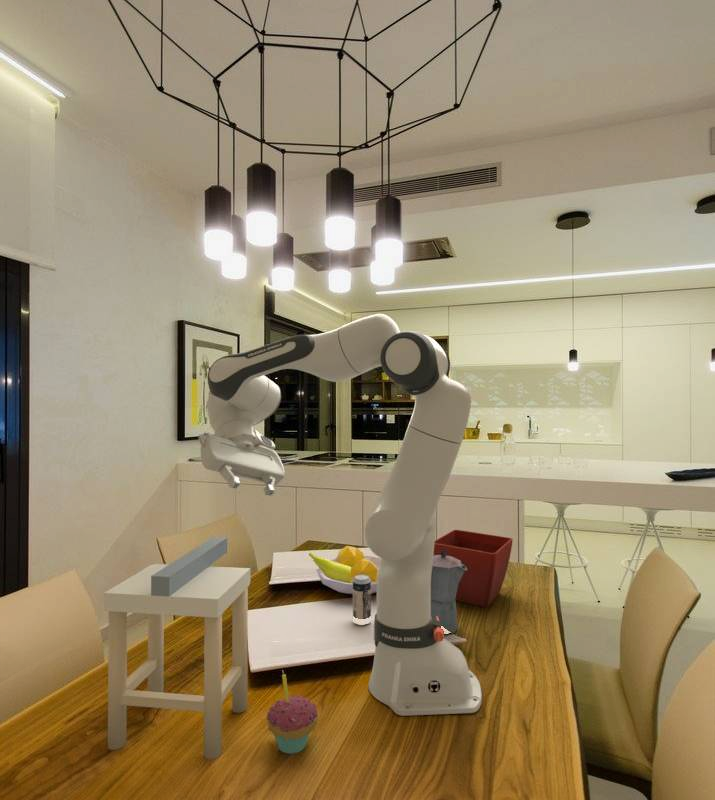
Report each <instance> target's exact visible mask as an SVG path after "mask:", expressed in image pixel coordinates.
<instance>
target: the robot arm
mask: <svg viewBox="0 0 715 800" xmlns="http://www.w3.org/2000/svg"><path fill="white" fill-rule="evenodd" d="M380 367H382V370H383V372H384V374H385V375H386V376H387V378H389V380H391V382H393V383H394V384H395V385H396V386H398V387H399V388H401V390H403V391H404V392H406V393H408V394H409V395H410V396H414V406H413V407H414V408H413V411H412V415H411V417H410V420H409V423H408V426H407V428H406V431H405V434H404V437H403V439H402V443H401V445H400V448H399V452H398V454H397V457H396V459H395V462H394V464H393V467H392V469H391V471H390V472H389V475H388V476H387V479H386V480H385V483H384V484H383V487H382V489H381V491H380V493H379V496H378V497H377V500H376V502H375V504H374V507H373V510H372V511H371V513H370V515H369V517H368V519H367V521H366V524H365V528H364V537H365V541H366V545H367V546H368V548H369V550H370V551H371V552H372V553H373V554H374V556H376V557H378V558H381V562H380V567H379V571H378V574H377V592H376V613H375V614H374V615H375V616H374V620H373V641H374V646H375V649H374V655H373V657H374V658H373V663H372V664H373V665H372V669H371V673H370V677H369V681H368V683H367V684H368V689H369V693H370V694H371V695H372V697H374V698H375V699H376V700H378V701H379V702H381V703H383V704H385V705H387V706H388V707H389V708H390V709H391V710H392V711H393V712H394V713H395V714H396V715H397V716H398V715H399V716H403V717H405V716H406V717H407V716H424V715H426V716H427V715H429V716H430V715H431V716H432V715H450V714H451V715H452V714H474V713H476V712H477V711H479V709H480V707H481V706H482V701H483V695H482V687H481V684H480V681H479V680H478V677H477V676H476V675H475V674H474V673H473V672H472V671H471V670H470V669H469V666H468V662H467V660H466V658H465V657H466V656H465V655H464V654H463V651H462V650H460V648H458V647H457V646H456V645H454V644H452V643H451V641H449V640H448V639H447V638H445V635H444V631H443V629H441V623H440V622H439V618H438V616H436V618H437V619H436V618H434V617H433V616H432V615H431V573H432V564H433V556H434V543H435V540H436V527H437V506H438V503H439V501H440V498H441V496H442V493H443V491H444V489H445V488H446V485H447V483H448V481H449V478H450V476H451V473H452V470H453V467H454V465H455V462H456V459H457V457H458V455H459V454H458V453H459V451H460V448H461V446H462V443H463V439H464V438H465V437H464V436H465V433H466V430H467V427H468V423H469V422H468V421H469V418H470V412H471V406H472V395H471V393H470V392H469V389H467V388H466V387H465V386H464V385H463V384H461V383H460V382H459V381H456V380H453V379H451V378H449V374H450V370H451V360H450V357H449V354H448V352H447V351H446V349H445V348H444V347H443V346H442V345H441V344H439V343H438V342H437V341H436V340H435V339H434V338H432V337H430V336H428V335H425V334H423V333H421V332H419V331H415V330H404V331H400V329H399V327H398V325H397V323H396V322H395V321H394V320H393V319H392V318H391V317H389V316H388V315H387V314H383V313H376V314H371V315H368V316H366V317H365V316H364V317H362V318H358V319H356V320H354V321H351V322H349V323H347V324H344V325H342V326H340V327H337V328H336V329H333V330H331V331H330V330H329V331H326V332H322V333H318V334H297V335H292V336H290V337H286V338H283V339H280V340H277V341H274V342H271V343H269V344H264V345H263V346H262V345H261V346H259V347H256V348H253V349H251V350H248V351H245V352H240V353H239V352H238V353H231V354H227V355H223V356H221V357H220V358H218V359H216V360H215V361H214V362H213V363H212V364H211V365H210V368H209V370H208V373H207V385H208V388H209V392H210V394H209V396H208V398H207V405H206V407H207V415H208V419H209V423H210V427H211V428H212V430H213V431H214V434H211V433H209V432H203V433H200V434H199V436H198V442H199V444H200V445H201V446H200V458H201V459H200V460H201V464H202V466H203V467H204V469H206V470H208V471H212V472H217V473H219V475H221V477H222V478H223V479H224V480H225V481H226V482H227V485H228V487H229V488H231V489H236V490H237V489H238V487H240V484H241V482H240V478H243V479H247V480H252V481H255V482H260V483H263V484H264V485H265V487H264V488H263V492H264V495H265V496H269V497H272V496H274V495H275V492H276V489H275V486H277V485H278V484H279V483H280V482H281V481H282V480H283V479H284V477H285V475H286V471H285V467H284V465H283V462H282V459H281V457H280V456H279V454H278V452H276V450H275V449H276V444H275V443H274V441H272V440H271V439H270V438H268V437H266V436H265V435H263V434H261V432H259V431H258V430H257V429H255V428H254V427H253V426H256V425H258V424H260V423H262V422H263V421H266V419H268V418H270V417H271V416H272V415H273V414H274V413H276V411H277V410H278V409H279V406H280V404H281V400H282V391H281V388H280V386H279V385H278V384H276V383H275V382H274V381H273V380H271V379H270V378H268V377H267V376H266V375H269V374H272V373H274V372H278V371H281V370H287V369H288V370H297V371H301V372H305V373H308V374H311V375H313V376H316V377H317V378H320V379H322V380H325V381H327V382H328V381H329V382H333V383H340V382H343V381H347V380H351V379H353V378H356V377H358V376H361V375H362V374H364V373H367V372H369V371H371V370H373V369H376V368H380Z"/></svg>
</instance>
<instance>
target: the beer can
mask: <svg viewBox="0 0 715 800" xmlns="http://www.w3.org/2000/svg"><path fill="white" fill-rule="evenodd" d="M353 616H354V617H355V618H358V619H366V618H369V617H370V616H371V617H372V594H371V580H370V578H369V576H368V575H364V574H362V575H356V576H355V577H354V579H353V594H352V617H353Z"/></svg>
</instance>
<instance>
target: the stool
mask: <svg viewBox="0 0 715 800" xmlns="http://www.w3.org/2000/svg"><path fill="white" fill-rule="evenodd" d="M168 565H169V563H168V564H167V563H166V564H165V563H164V564H163V563H152V564H150V565H149V566H147V567H145V568H143V569H142V570H141V571H139V572H136V573H135V574H133V575H131V576H130V577H129V578H127V579H125V580H124V581H122V582H120V583H118V584H117V585H115V586H113V587H112V588H110V589H108V590H107V591H105V592H104V593H103V596H104V597H103V611H104V612H108V643H107V644H108V646H107V647H108V653H107V654H108V656H107V657H108V659H107V661H108V662H107V664H108V666H107V667H108V668H107V669H108V670H107V671H108V672H107V676H108V677H107V679H108V681H107V682H108V683H107V685H108V686H107V687H108V689H107V703H108V704H107V748H108V749H109V750H110V751H115V750H119V749H121V748H123V747H124V746H125V745H126V743H127V716H128V715H127V708H128V707H127V706H132V707H133V706H134V707H143V708H154V709H156V708H157V709H167V710H178V711H190V712H202V713H203V757H204V759H206V760H210V761H211V760H215V759H218V758H219V757H221V756H222V754H223V753H222V749H223V748H222V747H223V746H222V745H223V744H222V743H223V742H222V741H223V737H222V736H223V733H222V732H223V730H222V729H223V722H222V720H223V718H222V717H223V716H222V714H223V710H222V709H223V702H224V701H225V700H226V698H227V696H229V693H230V692H231V697H232V698H231V699H232V700H231V709H232V712H233V713H235V714H241V713H244V712H246V711H247V710H248V648H249V647H248V645H249V644H248V641H249V640H248V638H249V637H248V627H249V626H248V621H249V618H248V617H249V616H248V615H249V614H248V612H249V611H248V608H249V607H248V604H249V603H248V601H249V600H248V599H249V597H248V596H249V595H248V594H249V593H248V592H249V591H248V589H249V588H248V587H249V586H250V585H251V567H234V566H233V567H229V566H228V567H227V566H224V567H223V566H211V565H210V566H209V567H208V568H206V569H205V570H204V571H202V572H201V573H200V574H198V575H197V576H196V577H194V578H193V579H192V580H190V581H189V582H188V583H186V584H185V585H184V586H183V587H181V588H180V589H179V590H177V591H176V592H175V593H173V594H172V595H171V596H151V576H152V575H154V574H155V573H157V572H158V571H160V570H162V569H163V568H165V567H166V566H168ZM231 605H232V614H231V615H232V618H231V619H232V620H231V621H232V623H231V624H232V625H231V626H232V631H231V633H232V635H231V636H232V637H231V638H232V641H231V642H232V643H231V644H232V648H231V649H232V651H231V652H232V653H231V654H232V656H231V659H232V660H231V661H232V663H231V667H230V669H229V670H228V672H227V673H226V674H225V675H224V677H223V613H225V612H226V610H227V609H228V608H229V607H230V606H231ZM128 613H132V614H133V613H134V614H147V659H146V660H145V661H144V662H143V663H142V664H141V665H140V666H139V667H138V668H137V669H135V670H134V672H132V673H131V674H130V675H129V676H128V675H127V673H128V669H127V667H128V656H127V655H128ZM164 615H166V616H180V617H181V616H184V617H200V618H204V619H203V621H204V625H203V626H204V627H203V628H204V630H203V631H204V633H203V636H204V638H203V640H204V641H203V643H204V644H203V645H204V647H203V658H204V659H203V660H204V661H203V668H204V669H203V695H196V694H184V693H174V692H172V693H171V692H164V673H165V672H164V670H165V669H164V662H165V661H164V658H165V657H164V653H165V651H164V649H165V648H164V644H165V643H164V641H165V639H164V638H165V637H164V634H165V633H164V631H165V629H164V628H165V626H164V625H165V623H164V622H165V619H164V617H165V616H164ZM146 678H147V690H138V689H137V690H136V688H137V687H138V686H139V685H140V684H141V683H142V682H143V681H144V680H145V679H146Z"/></svg>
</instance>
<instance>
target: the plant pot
mask: <svg viewBox="0 0 715 800" xmlns="http://www.w3.org/2000/svg"><path fill="white" fill-rule="evenodd" d="M513 541H514V539H513V538H512V537H507V536H506V537H504V536H501V535H500V536H499V535H494V534H487V533H481V532H475V531H468V530H460V529H453V530H451V531H449V532H447V533H446V534H444V535H442V536H440V537H439V538H437V539H435V543H434V555H433V556H435V555H441V551H442V550H445V551H447V553H446V556H452V557H454V558H456V559H458V560H460V561H461V564H463V565H464V566H465V567H466V568H467V571H465V572H464V573H463V575H462V577H461V579H460V581H459V583H458V587H457V593H456V598H455V601H457V602H458V601H459V602H461V603H462V602H463V603H465V604H470V605H473V606H477V607H478V606H479V607H483V608H488V607H489V606H490V605H491V604H492V603H493V601H494V600H495V599H496V598H498V596H499V594H500V592H501V589H502V587H503V584H504V580H505V578H506V573H507V571H508V567H509V563H510V559H511V553H512V548H513Z"/></svg>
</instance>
